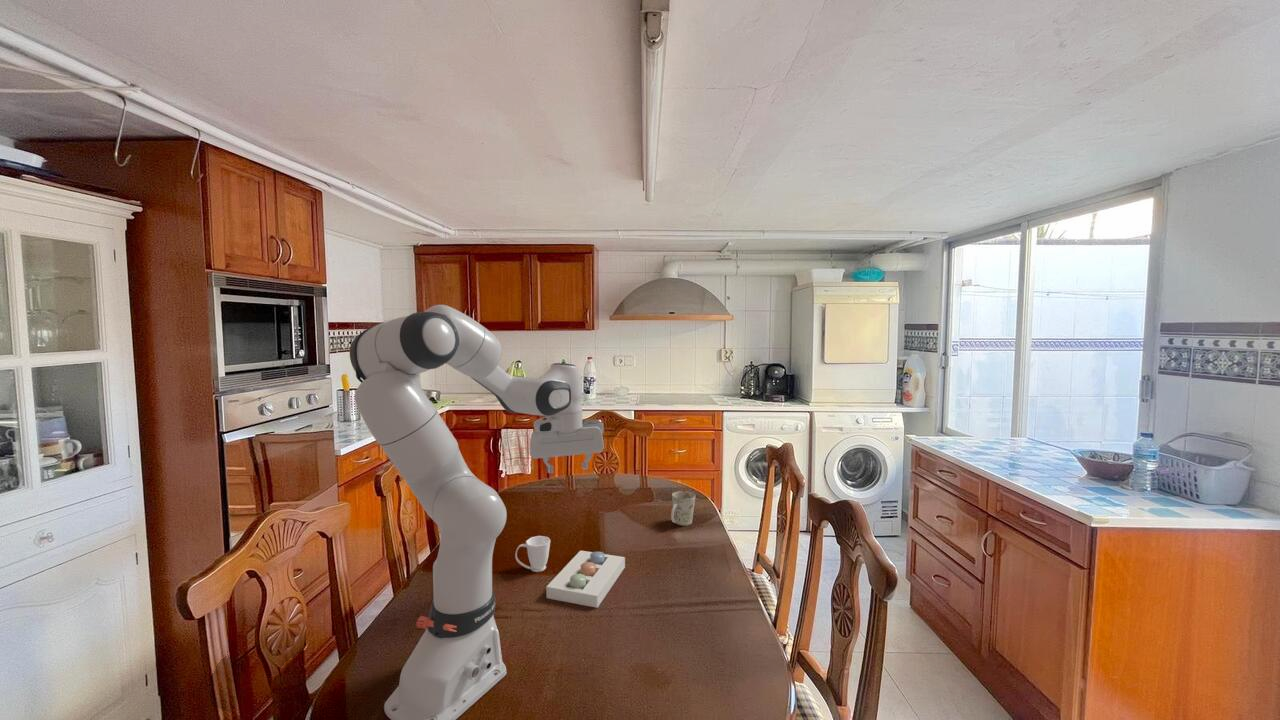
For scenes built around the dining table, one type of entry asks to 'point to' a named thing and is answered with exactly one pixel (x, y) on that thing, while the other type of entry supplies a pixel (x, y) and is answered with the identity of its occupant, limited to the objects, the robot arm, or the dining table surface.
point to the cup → (536, 553)
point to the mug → (682, 507)
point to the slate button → (597, 558)
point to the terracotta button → (588, 569)
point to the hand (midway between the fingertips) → (567, 470)
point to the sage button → (578, 581)
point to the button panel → (594, 585)
